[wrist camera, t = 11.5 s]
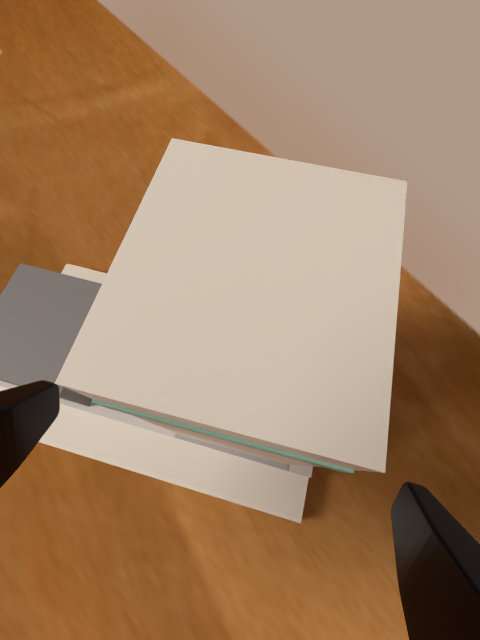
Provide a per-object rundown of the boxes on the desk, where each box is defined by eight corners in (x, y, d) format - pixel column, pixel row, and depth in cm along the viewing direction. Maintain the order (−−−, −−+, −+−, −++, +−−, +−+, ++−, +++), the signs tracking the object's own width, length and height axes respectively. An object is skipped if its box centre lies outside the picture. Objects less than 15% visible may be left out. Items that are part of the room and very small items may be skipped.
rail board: (297, 519, 16) (317, 541, 12) (-10, 424, 18) (-87, 413, 14) (329, 335, 20) (354, 301, 16) (74, 271, 22) (33, 226, 17)
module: (283, 464, 16) (388, 478, 5) (180, 436, 16) (49, 386, 5) (303, 354, 18) (409, 180, 7) (212, 332, 18) (170, 136, 7)
